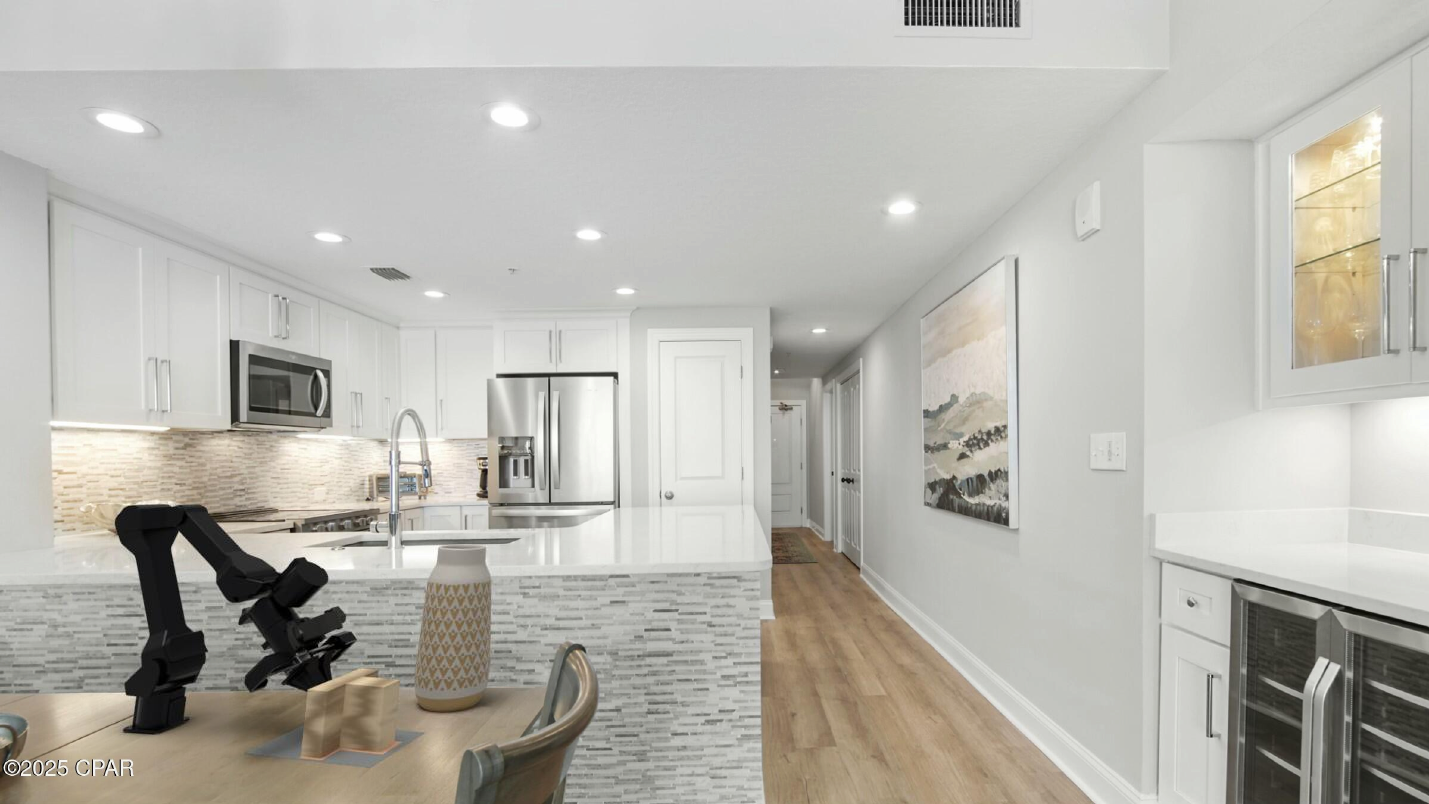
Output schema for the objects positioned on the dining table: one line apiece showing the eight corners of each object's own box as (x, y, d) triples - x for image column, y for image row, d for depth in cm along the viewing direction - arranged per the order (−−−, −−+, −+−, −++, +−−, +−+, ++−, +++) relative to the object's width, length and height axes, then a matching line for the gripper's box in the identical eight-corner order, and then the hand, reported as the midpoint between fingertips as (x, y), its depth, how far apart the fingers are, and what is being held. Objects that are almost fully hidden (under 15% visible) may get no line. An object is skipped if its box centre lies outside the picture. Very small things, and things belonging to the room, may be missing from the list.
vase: (502, 700, 130) (512, 546, 133) (448, 723, 117) (461, 552, 121) (452, 689, 135) (463, 541, 139) (395, 709, 123) (409, 546, 127)
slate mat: (243, 757, 101) (244, 753, 101) (312, 724, 115) (312, 720, 115) (369, 771, 97) (370, 767, 97) (425, 736, 111) (425, 732, 111)
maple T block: (300, 756, 100) (307, 689, 102) (354, 727, 112) (360, 668, 113) (360, 763, 99) (367, 695, 100) (409, 733, 111) (414, 673, 112)
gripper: (268, 604, 101) (323, 682, 98) (352, 585, 119) (401, 651, 116) (219, 652, 101) (272, 732, 98) (310, 626, 120) (358, 693, 116)
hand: (332, 698), depth 107 cm, fingers closed, pressing on maple T block
